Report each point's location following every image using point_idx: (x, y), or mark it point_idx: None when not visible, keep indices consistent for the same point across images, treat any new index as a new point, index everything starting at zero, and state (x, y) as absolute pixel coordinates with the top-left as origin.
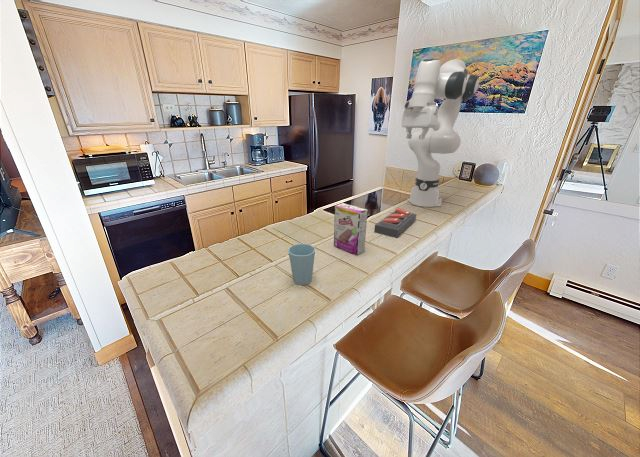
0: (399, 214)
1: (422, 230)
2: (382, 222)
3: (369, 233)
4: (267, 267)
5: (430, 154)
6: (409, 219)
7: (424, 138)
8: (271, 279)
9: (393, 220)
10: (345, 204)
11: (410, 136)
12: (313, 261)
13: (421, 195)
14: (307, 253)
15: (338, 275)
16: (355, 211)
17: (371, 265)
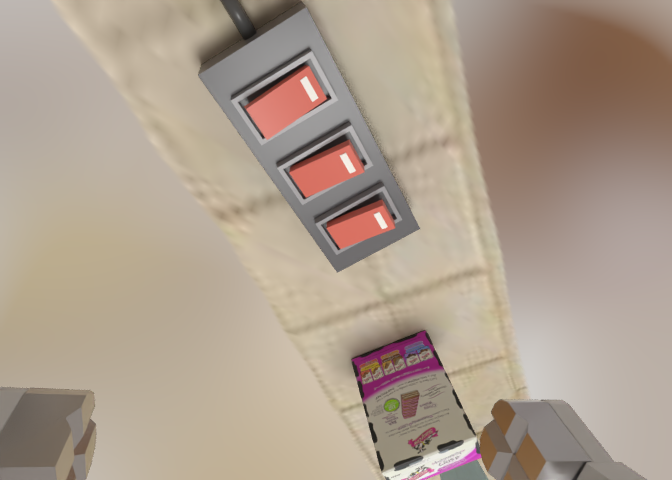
0: (331, 162)
1: (410, 67)
2: (344, 249)
3: (331, 270)
4: (378, 477)
5: None
6: (356, 110)
7: (572, 410)
8: None
9: (382, 232)
10: (401, 471)
11: (67, 446)
12: (480, 469)
13: None
14: (456, 478)
15: (472, 398)
16: (466, 463)
17: (484, 340)
